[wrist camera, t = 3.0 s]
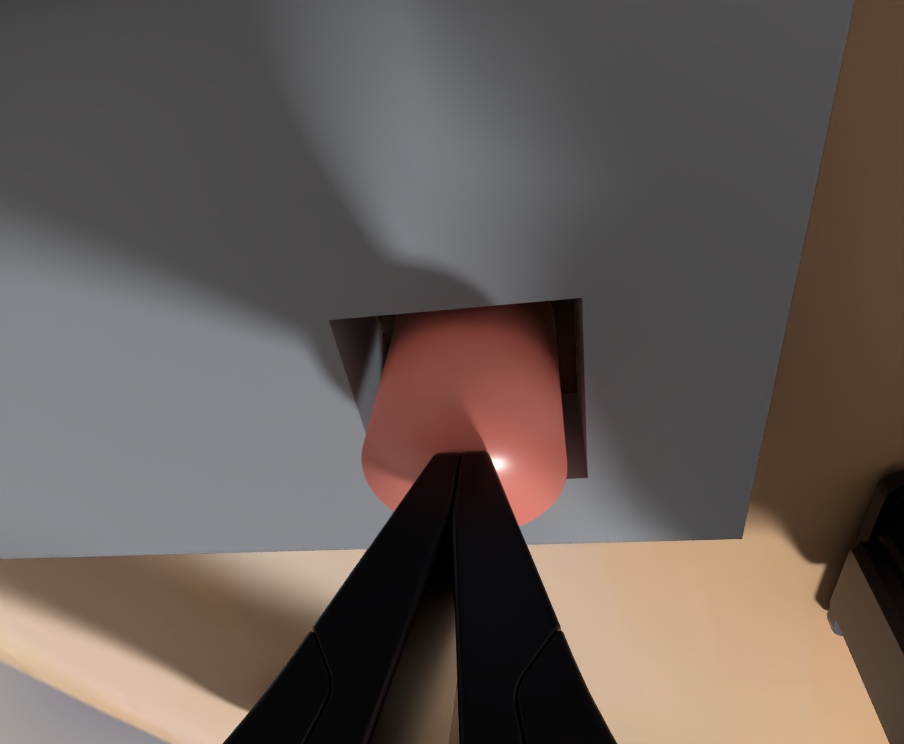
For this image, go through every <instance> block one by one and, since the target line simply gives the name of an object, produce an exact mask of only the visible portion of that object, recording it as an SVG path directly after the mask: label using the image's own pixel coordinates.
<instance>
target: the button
mask: <svg viewBox="0 0 904 744" xmlns="http://www.w3.org/2000/svg"><path fill="white" fill-rule="evenodd" d="M466 451H487V452H488V453H489V455H490V457H491V459H492V462H493V464H494V467H495V469H496V472H497V474H498V476H499V479H500V481H501V484H502V486H503V489H504V491H505V493H506V496H507V498H508V501H509V503H510V505H511V508H512V510H513V513H514V515H515V518H516V520H517V522H518V525H519V526H521V525H524V524H526V523H528V522H530V521H532V520H534V519H535V518H537V517H538V516H540V515H541V514H543V513H544V512H545V511H546V510H548V509H549V508H550V507H551V506H552V504H553V503H554V502H555V501H556V500H557V498H558V497H559V495H560V494H561V492H562V490H563V487H564V485H565V482H566V477H567V456H566V445H565V433H564V422H563V411H562V399H561V388H560V377H559V365H558V354H557V343H556V331H555V320H554V313H553V309H552V305H551V302H550V301H540V302H529V303H517V304H506V305H495V306H483V307H472V308H461V309H449V310H438V311H427V312H415V313H404V314H398V317H397V321H396V324H395V328H394V332H393V336H392V339H391V343H390V347H389V350H388V354H387V358H386V362H385V365H384V369H383V373H382V376H381V380H380V384H379V388H378V391H377V395H376V399H375V402H374V406H373V410H372V414H371V417H370V421H369V425H368V428H367V432H366V436H365V440H364V443H363V447H362V455H361V461H362V469H363V473H364V476H365V478H366V480H367V483H368V485H369V486H370V488H371V489H372V491H373V492H374V494H375V495H376V496H377V497H378V498H379V499H380V500H381V501H382V502H383V503H384V504H385V505H386V506H387V507H388V508H390V509H391V510H392V511H395V509H396V508H397V506H398V505H399V504H400V502H401V501H402V499H403V498H404V496H405V495H406V494H407V492H408V491H409V489H410V488H411V486H412V485H413V484H414V482H415V481H416V479H417V478H418V476H419V475H420V474H421V472H422V471H423V469H424V468H425V466H426V465H427V464H428V462H429V461H430V459H431V458H432V457H433V455H435V454H436V453H446V452H458V453H460V454H461V455H462V454H463V453H464V452H466Z"/></svg>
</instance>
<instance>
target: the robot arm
mask: <svg viewBox="0 0 904 744" xmlns="http://www.w3.org/2000/svg"><path fill="white" fill-rule="evenodd" d="M827 619H828V621H829V624H830V626H831V628H832V631H833V632H834V633H835V634H837V635H840V636H843V637H844V639H845V641H846V644H847V646H848V648H849V651H850V653H851V655H852V658H853V660H854V662H855V664H856V667H857V669H858V671H859V674H860V676H861V678H862V681H863V683H864V685H865V688H866V690H867V692H868V695H869V697H870V699H871V701H872V704H873V706H874V708H875V711H876V713H877V715H878V718H879V720H880V722H881V725H882V727H883V729H884V732H885V734H886V736H887V738H888V741H889V743H890V744H904V470H902V471H897V472H894V473H892V474H889V475H887V476H886V477H884V478H883V479H882V480H881V481H880V482H879V484H878V485H877V487H876V490H875V492H874V495H873V498H872V500H871V503H870V505H869V508H868V510H867V513H866V516H865V518H864V521H863V523H862V526H861V528H860V531H859V533H858V536H857V539H856V541H855V544H854V545H853V547H852V548H851V549H850V551H849V553H848V556H847V558H846V561H845V563H844V566H843V569H842V571H841V574H840V576H839V579H838V582H837V584H836V587H835V589H834V592H833V595H832V597H831V600H830V608H829V610H828V613H827ZM313 631H314V632H309V633H308V635H307V636H306V637H305V639H304V640H303V642H302V643H301V645H300V646H299V648H298V649H297V650H296V652H295V653H294V655H293V656H292V657H291V659H290V660H289V661H288V663H287V664H286V666H285V667H284V668H283V670H282V671H281V672H280V674H279V675H278V676H277V678H276V679H275V680H274V682H273V683H272V684H271V686H270V687H269V688H268V690H267V691H266V692H265V693H264V695H263V696H262V697H261V698H260V699H259V701H258V702H257V703H256V704H255V706H254V707H253V708H252V709H251V710H250V712H249V713H248V714H247V715H246V717H245V718H244V719H243V720H242V721H241V723H240V724H239V725H238V726H237V727H236V729H235V730H234V731H233V732H232V733H231V734H230V736H229V737H228V738H227V739H226V740H225V741H224V743H223V744H449V740H450V732H451V725H452V717H453V709H454V702H455V694H456V686H457V688H458V716H459V744H617V742H616V741H615V739H614V737H613V735H612V734H611V732H610V730H609V728H608V726H607V724H606V722H605V721H604V719H603V717H602V715H601V713H600V711H599V709H598V707H597V706H596V704H595V702H594V700H593V698H592V696H591V694H590V692H589V690H588V688H587V686H586V684H585V681H584V679H583V677H582V675H581V673H580V670H579V668H578V666H577V664H576V662H575V659H574V657H573V655H572V652H571V650H570V648H569V645H568V643H567V640H566V638H565V635H564V633H563V632H562V631H561V627H560V624H559V622H558V619H557V617H556V614H555V612H554V609H553V607H552V605H551V602H550V600H549V597H548V595H547V593H546V590H545V588H544V585H543V583H542V580H541V578H540V576H539V573H538V571H537V568H536V566H535V564H534V561H533V559H532V556H531V554H530V551H529V549H528V547H527V544H526V542H525V539H524V537H523V534H522V532H521V530H520V527H519V525H518V522H517V520H516V518H515V515H514V513H513V510H512V508H511V505H510V503H509V501H508V498H507V496H506V493H505V491H504V489H503V486H502V484H501V481H500V479H499V476H498V474H497V472H496V469H495V467H494V464H493V462H492V459H491V457H490V455H489V453H488V452H487V451H466V452H464V453H463V454H462V455H461V454H460V453H458V452H446V453H436V454H435V455H433V457H432V458H431V459H430V461H429V462H428V464H427V465H426V466H425V468H424V469H423V471H422V472H421V474H420V475H419V476H418V478H417V479H416V481H415V482H414V484H413V485H412V486H411V488H410V489H409V491H408V492H407V494H406V495H405V496H404V498H403V499H402V501H401V502H400V504H399V505H398V506H397V508H396V509H395V511H394V512H393V514H392V515H391V516H390V518H389V519H388V521H387V522H386V524H385V525H384V526H383V528H382V529H381V531H380V532H379V534H378V535H377V536H376V538H375V539H374V541H373V542H372V544H371V545H370V546H369V548H368V549H367V551H366V552H365V554H364V555H363V556H362V558H361V559H360V561H359V562H358V564H357V565H356V566H355V568H354V569H353V571H352V572H351V574H350V575H349V576H348V578H347V579H346V581H345V582H344V584H343V585H342V586H341V588H340V589H339V591H338V592H337V594H336V595H335V596H334V598H333V599H332V601H331V602H330V604H329V605H328V607H327V608H326V609H325V611H324V612H323V614H322V615H321V617H320V618H319V619H318V621H317V622H316V624H315V625H314V627H313Z"/></svg>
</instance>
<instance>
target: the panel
mask: <svg viewBox="0 0 904 744" xmlns="http://www.w3.org/2000/svg"><path fill="white" fill-rule="evenodd" d="M854 2H855V0H0V559H19V558H56V557H93V556H130V555H167V554H203V553H240V552H277V551H314V550H351V549H368V548H369V546H370V545H371V544H372V542H373V541H374V539H375V538H376V536H377V535H378V534H379V532H380V531H381V529H382V528H383V526H384V525H385V524H386V522H387V521H388V519H389V518H390V516H391V515H392V514H393V512H394V511H392V510H391V509H390V508H388V507H387V506H386V505H385V504H384V503H383V502H382V501H381V500H380V499H379V498H378V497H377V496H376V495H375V494H374V492H373V491H372V489H371V488H370V486H369V485H368V483H367V480H366V478H365V476H364V473H363V469H362V461H361V455H362V447H363V443H364V440H365V436H366V432H367V428H368V425H369V421H370V417H371V414H372V410H373V406H374V402H375V399H376V395H377V391H378V388H379V384H380V380H381V376H382V373H383V369H384V365H385V362H386V358H387V354H388V353H387V349H386V345H385V342H384V338H383V334H382V331H381V327H380V323H379V319H378V316H381V315H393V314H404V313H415V312H427V311H438V310H449V309H461V308H472V307H483V306H495V305H506V304H517V303H529V302H540V301H551V300H563V299H574V317H575V342H576V367H577V392H578V393H566V394H561V399H562V411H563V422H564V433H565V445H566V456H567V477H566V482H565V485H564V487H563V490H562V492H561V494H560V495H559V497H558V498H557V500H556V501H555V502H554V503H553V504H552V506H551V507H550V508H549V509H548V510H546V511H545V512H544V513H543V514H541V515H540V516H538V517H537V518H535V519H534V520H532V521H530V522H528V523H526V524H524V525H521V526H519V527H520V530H521V532H522V534H523V537H524V539H525V542H526V544H527V545H535V544H572V543H608V542H645V541H682V540H719V539H742V536H743V531H744V526H745V521H746V517H747V512H748V507H749V502H750V498H751V493H752V488H753V483H754V479H755V474H756V469H757V464H758V460H759V455H760V450H761V445H762V440H763V436H764V431H765V426H766V421H767V417H768V412H769V407H770V402H771V398H772V393H773V388H774V383H775V378H776V374H777V369H778V364H779V359H780V355H781V350H782V345H783V340H784V336H785V331H786V326H787V321H788V317H789V312H790V307H791V302H792V297H793V293H794V288H795V283H796V278H797V274H798V269H799V264H800V259H801V255H802V250H803V245H804V240H805V236H806V231H807V226H808V221H809V216H810V212H811V207H812V202H813V197H814V193H815V188H816V183H817V178H818V174H819V169H820V164H821V159H822V155H823V150H824V145H825V140H826V135H827V131H828V126H829V121H830V116H831V112H832V107H833V102H834V97H835V93H836V88H837V83H838V78H839V74H840V69H841V64H842V59H843V54H844V50H845V45H846V40H847V35H848V31H849V26H850V21H851V16H852V12H853V7H854Z"/></svg>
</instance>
